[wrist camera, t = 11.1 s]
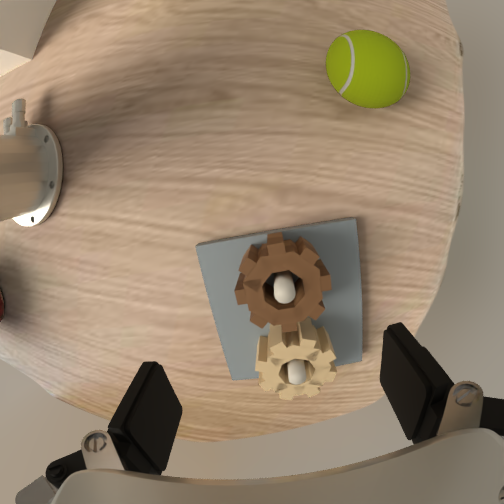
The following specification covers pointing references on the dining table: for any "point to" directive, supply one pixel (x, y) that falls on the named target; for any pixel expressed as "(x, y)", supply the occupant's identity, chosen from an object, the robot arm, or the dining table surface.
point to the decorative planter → (1, 307)
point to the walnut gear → (262, 294)
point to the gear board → (309, 331)
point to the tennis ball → (368, 69)
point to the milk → (21, 30)
